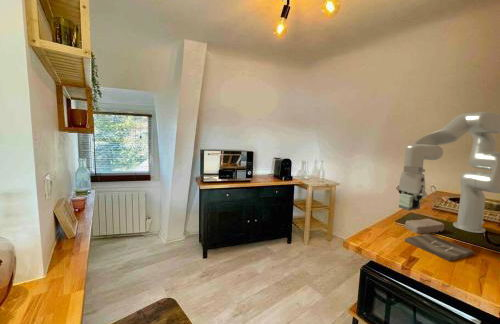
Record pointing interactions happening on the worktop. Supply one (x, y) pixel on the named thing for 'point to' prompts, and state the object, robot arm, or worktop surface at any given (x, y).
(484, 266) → the worktop surface
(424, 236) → the board
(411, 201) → the block
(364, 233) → the worktop surface
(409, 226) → the brick
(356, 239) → the worktop surface
